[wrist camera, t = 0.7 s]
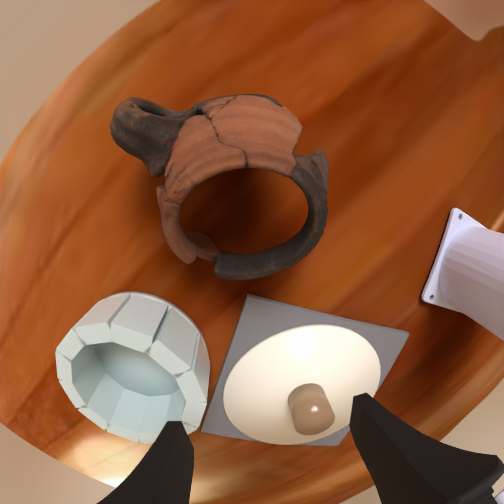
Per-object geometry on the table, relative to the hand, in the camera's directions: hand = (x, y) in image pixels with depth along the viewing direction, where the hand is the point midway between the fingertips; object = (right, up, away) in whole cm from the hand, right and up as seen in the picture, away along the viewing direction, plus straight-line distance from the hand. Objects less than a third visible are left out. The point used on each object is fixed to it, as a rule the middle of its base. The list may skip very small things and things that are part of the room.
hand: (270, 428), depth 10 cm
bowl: (-9, 0, +9) cm, 13 cm away
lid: (+4, -4, +11) cm, 12 cm away
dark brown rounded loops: (-3, +13, +7) cm, 15 cm away
